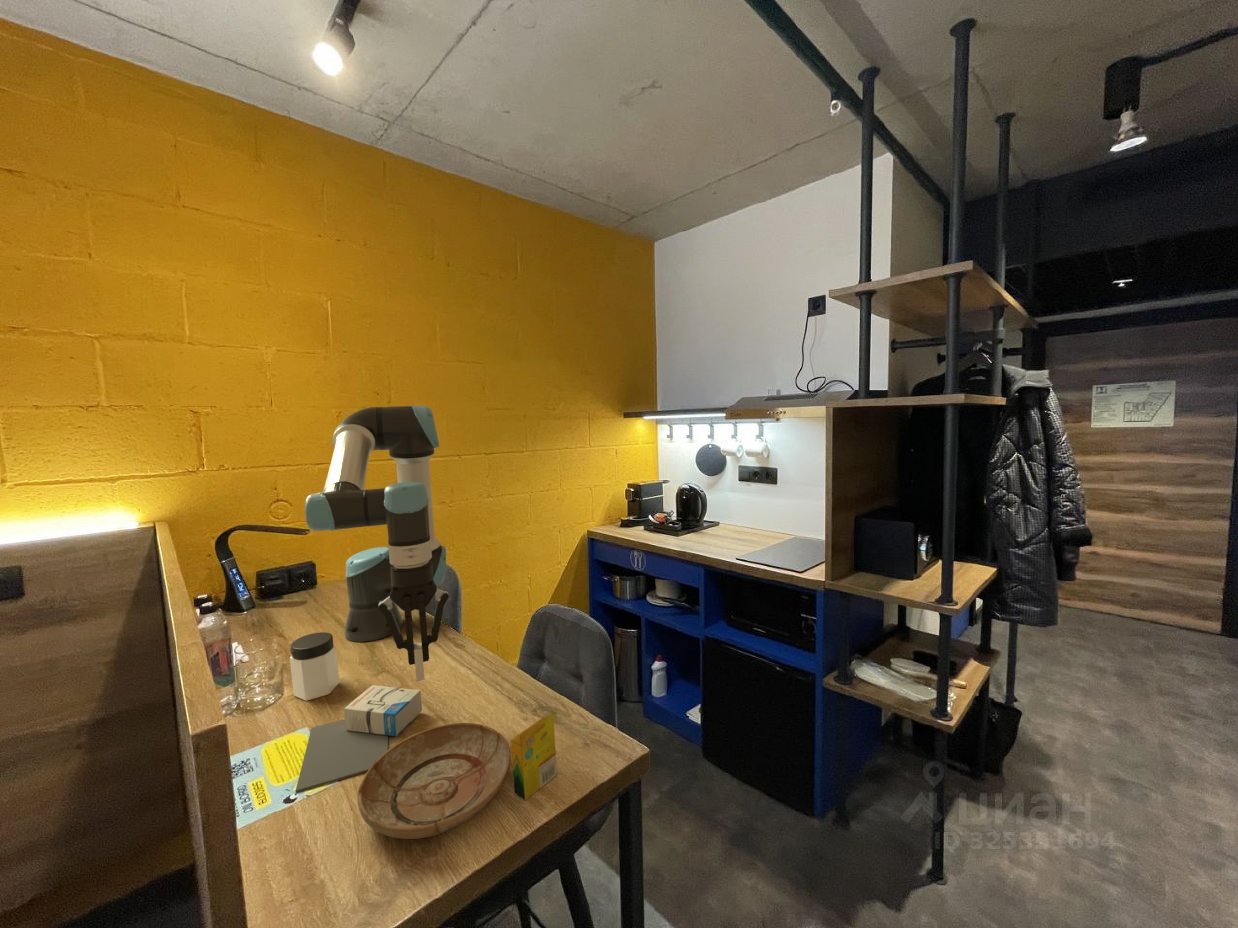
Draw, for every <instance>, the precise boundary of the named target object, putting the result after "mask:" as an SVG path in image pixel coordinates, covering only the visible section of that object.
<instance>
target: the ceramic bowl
mask: <svg viewBox="0 0 1238 928" xmlns="http://www.w3.org/2000/svg"><path fill="white" fill-rule="evenodd" d="M510 747H511V746H510V744H509V742H508V740H507V739H506V737H504V735H502V734H501V733H500V732H499V731H498V730H495V729H494V728H492V727H489V726H486V725H484V724H480V723H471V722H457V723H456V722H455V723H448V724H442V725H438V726H433V727H431V728H428V729H425V730H422V731H419V732H417V733H415V734H412V735H410V736H408V737H407V738H404V739H402V740H401V741H399V742H398V743H397V744H394V745H393V746H392V747H390V748H388V751H386V752H385V753H384V754H383V755H382V756H381V757H380V758H379V759H378V760H377V761H376V762H375V763H374V764H373V765H372V766H371V767H370V769H369V770H368V772H365V774H364V776H363V778H362V781H361V783H360V785H359V787H358V792H357V804H358V805H357V807H358V810H359V813H360V815H361V817H362V819H363V820H364V822H365V823H366V824H367V825H368V826H369V827H370V828H371V829H373V830H375V832H377V833H380V834H382V835H384V836H387V837H390V838H394V839H403V840H407V839H408V840H413V839H423V838H425V839H426V838H429V837H434V836H437V835H442V834H443V833H445V832H449V831H451V830H453V829H455V828H457V827H459V826H461V825H463V824H465V823H467V822H468V821H470V820H471V819H473V818H474V817H476V816H478V815H479V814H480V813H481V812H483V811H484V810H485V809H487V807H488V806H489V805H490V804H491V803H492V802H493V801H494V800H495V799H496V797H497V796H498V795H499V793H500V792H501V790H502V789H503V787H504V785H505V784H506V781H507V779H508V776H509V774H510V773H509V772H510V768H511V761H512V760H511V759H512V754H511V748H510Z"/></svg>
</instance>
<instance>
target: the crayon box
mask: <svg viewBox="0 0 1238 928" xmlns="http://www.w3.org/2000/svg"><path fill="white" fill-rule="evenodd" d="M555 737H556V736H555V723H554V713H553V712H552V713H550V714H549V715H547V716H546V717H544V716H543V717H541V718H540V719H538V720H537V721H536V722H534V723H533V724H531V725H530V726H528V727H527V728H526V729H525V730H523V731H520V733H519V734H517V735H516V736H514V737H513V738H512V739H510V745H511V746H510V747H511V748H510V749H511V759H512V760H511V761H512V774H513V775H512V777H513V789H514V794H516V795H517V797H519V798H521V799H522V800H523V801H524V802H526V801H528V799H529V798H530V797H532V796H533V795H535V793H536V792H538V791H539V790H541V789H542V788H543V787H544V786H546V784H548V783H549V782H550V781H551V780H552V779H554V777H556V776H557V775H558V769H557V754H556V753H557V752H556V738H555Z"/></svg>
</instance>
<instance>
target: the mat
mask: <svg viewBox="0 0 1238 928" xmlns="http://www.w3.org/2000/svg"><path fill="white" fill-rule="evenodd" d="M388 750H389V735H383V734H374V733H366V732H358V731H350V730H346V725H345V718H343V719H341V720H337V721H333V722H328V723H324V724H320V725H316V726H313V727H311V729H310V732H309V737H308V741H307V744H306V748H305V752H304V756H303V761H302V765H301V766H300V767H301V768H300V771H299V772H300V773H299V776H298V779H297V784H296V788H295V794H296V793H300V792H302V791H303V792H304V791H307V790H310V789H313V788H317V787H320V786H323V785H327V784H330V783H333V782H338V781H341V780H344V779H347V778H351V777H354V776H357V775H361V774H363V773H365V774H366V773H367V772H368V770H369V769H370V767H371V766H372V765H373V764H374V763H375V762H376V761H377V760H378V759H379V758H380V757H381V756H382V755H383V754H384V753H385V752H386V751H388Z"/></svg>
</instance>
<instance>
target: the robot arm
mask: <svg viewBox="0 0 1238 928" xmlns="http://www.w3.org/2000/svg"><path fill="white" fill-rule="evenodd" d="M436 427H437V426H436V422H435V418H434V414H433V410H432V409H431V408H430V407H428V406H426V405H425V406H424V405H400V406H399V405H397V406H396V405H395V406H393V405H392V406H370V407H364V408H361V409H359V410H357V411H355V412H353V413H351V414H349V415H348V416H347V417H345V418H344V419H343V420H342V421H340V423H339V424H338V425H337V426H336V427H335V429H334V432H333V434H332V438H331V444H332V446H333V453H332V456H331V457H332V458H331V461H330V464H329V468H328V472H327V475H326V478H325V483H324V486H323V490H322V491H321V492H317V493H311V494H309V495H307V496H306V499H305V503H304V517H305V521H306V524H307V527H308V528H309V530H311V531H313V532H317V531H318V532H319V531H320V532H321V531H324V532H325V531H330V532H333V531H336V530H337V531H339V530H347V529H355V528H362V527H363V528H364V527H376V526H384V525H386V529H387V531H386V532H387V538H388V539H387V541H388V544H387V545H388V547H386V546H379V547H378V546H377V547H373V548H368V549H364V550H362V551H359V552H357V553H354V554H353V555H350V557H349V558H347V560H346V562H345V578H346V585H347V586H346V587H347V596H348V597H347V598H348V606H349V608H348V613H347V617H346V621H345V625H344V637H345V639H347V641H351V642H371V641H375V640H380V639H384V638H386V637H389V636H392V639H393V641H394V644H395V645H396V648H397V649H398V650H402V649H403V650H406V651H407V660H408V664H409V665H410V666H411V665H414V667H415V668H414V669H415V679H416V680H415V681H416V682H417V683H418V682H421V681H424V680H425V668H424V663H426V662H429V661H430V651H429V650H430V649H429V647H430V645H431V644H432V643H436V642H438V640H439V633H440V629H441V624H442V623H441V622H442V620H443V619H442V618H443V612H444V608H445V604H446V603H447V601H448V600H449V597H450V595H449V592H448V590H446V589H445V590H444V589H443V590H442V589H440V588H438V586H441V585H442V584H443V583H444V581H445V579H446V569H447V568H446V567H447V548H446V547H447V546H445V545H442V544H441V540H440V539H439V538H437V537H436V536H435V524H434V521H435V520H434V509H433V499H432V498H433V497H432V496H433V495H432V483H431V482H432V479H431V469H430V465H431V464H430V459H432V457H433V456H434V455H435V449H438V447H440V441H439V438H438V432H437V428H436ZM385 450H386V451H388V455H389V458H391V459H392V460H393V461H395V466H396V474H397V482H396V483H392V484H388V485H387V486H385V487H382V488H371V489H369V488H367V489H365V487H366V482H367V481H366V480H367V479H366V478H367V473H368V467H369V458H370V454H371V453H373V451H385ZM434 596H435V597H434ZM433 597H434V598H435V601H436V603H435V608H434V613H433V618H432V619H433V621H432V625H431V631H430V633H429V634H428V624H427V615H426V614H427V612H426V611H427V610H426V607H428V606H429V604H430V602H431V600H432V599H433ZM400 610H402V611H403V613H404V621H403V616H402V613H401V611H400ZM416 610H418V615H419V627H420V628H419V629H420V640H421V641H420V642H418V643H415V641H414V628H413V626H414V625H413V614H412V611H416ZM403 622H404V623H403ZM403 625H405V635H406V639H405V638H404V637H403V634H402V633H401V628H403Z"/></svg>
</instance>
